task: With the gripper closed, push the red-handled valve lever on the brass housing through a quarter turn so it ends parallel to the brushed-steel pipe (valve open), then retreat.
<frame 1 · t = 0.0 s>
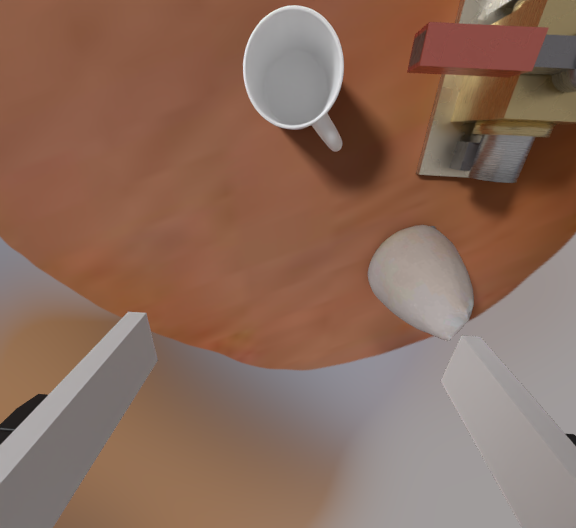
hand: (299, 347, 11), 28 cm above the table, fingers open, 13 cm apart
valve body: (493, 83, 29), on the table
mug: (305, 104, 31), on the table
lever: (520, 54, 19), point 12 cm above the table, hinge at 0.0°
sculpture: (405, 262, 40), on the table
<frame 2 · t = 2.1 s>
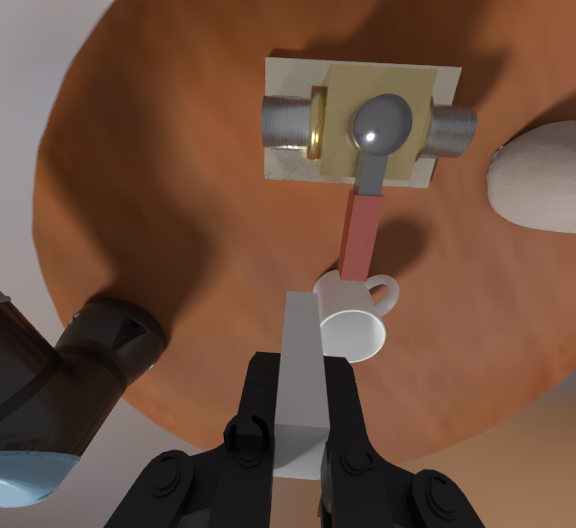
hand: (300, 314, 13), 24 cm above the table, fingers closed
valve body: (352, 128, 30), on the table
mug: (349, 284, 40), on the table
lever: (365, 198, 22), point 12 cm above the table, hinge at 0.0°
sculpture: (534, 175, 32), on the table
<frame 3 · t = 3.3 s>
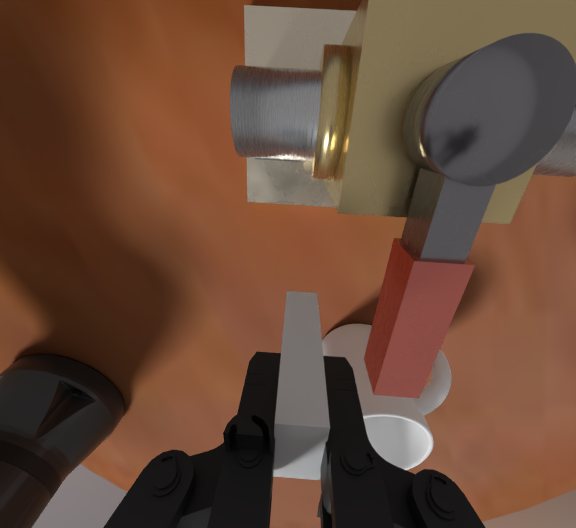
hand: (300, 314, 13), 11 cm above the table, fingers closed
valve body: (382, 126, 19), on the table
mug: (368, 340, 29), on the table
lever: (428, 261, 12), point 12 cm above the table, hinge at 0.0°
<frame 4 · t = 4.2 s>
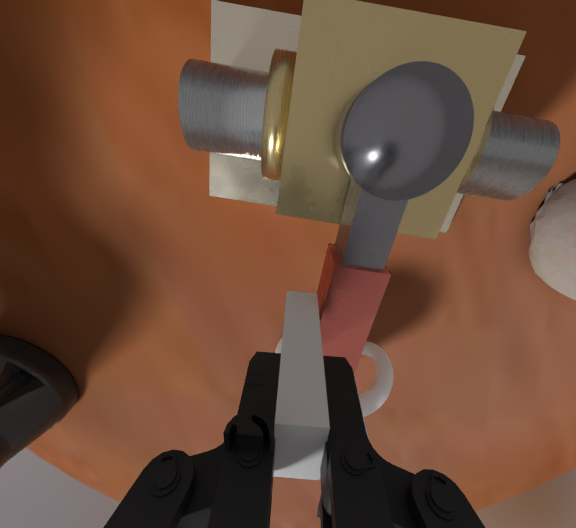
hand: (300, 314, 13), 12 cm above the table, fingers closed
valve body: (345, 134, 20), on the table
mug: (325, 342, 30), on the table
lever: (354, 268, 12), point 12 cm above the table, hinge at 0.0°, touching gripper
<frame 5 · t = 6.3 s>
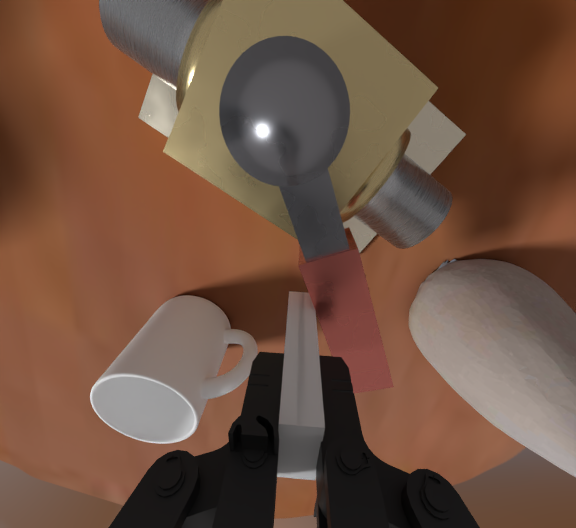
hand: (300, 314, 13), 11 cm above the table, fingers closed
valve body: (298, 126, 19), on the table
mug: (212, 321, 29), on the table
lever: (329, 255, 11), point 12 cm above the table, hinge at 53.2°, touching gripper
sculpture: (466, 308, 26), on the table
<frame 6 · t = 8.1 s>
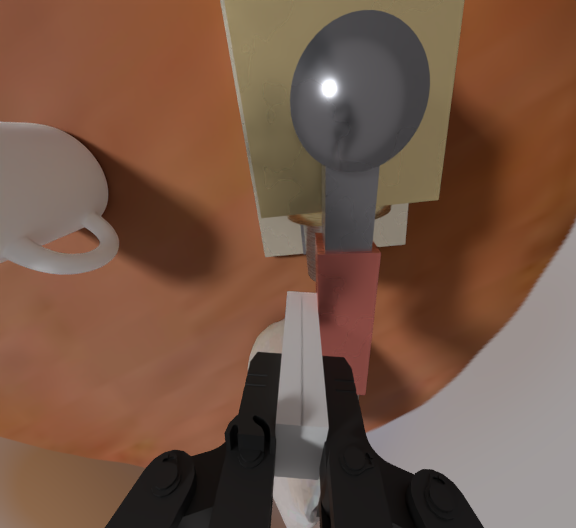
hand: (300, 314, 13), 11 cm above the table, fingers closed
valve body: (325, 120, 19), on the table
mug: (86, 193, 23), on the table
lever: (344, 253, 11), point 12 cm above the table, hinge at 86.2°, touching gripper
sculpture: (302, 353, 30), on the table
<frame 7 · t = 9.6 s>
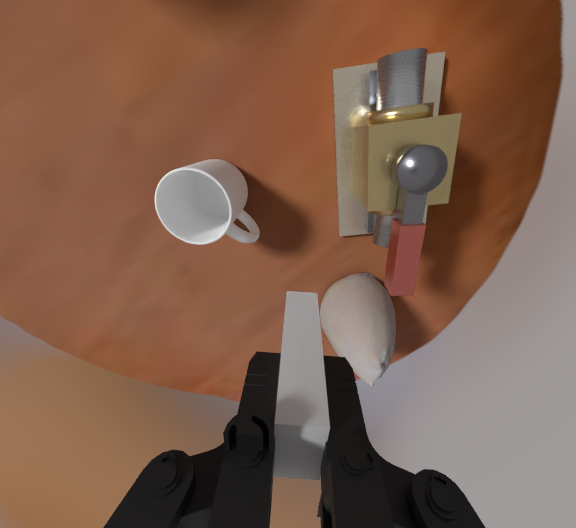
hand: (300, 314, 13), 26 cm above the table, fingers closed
valve body: (382, 157, 34), on the table
mug: (231, 198, 38), on the table
lever: (408, 226, 26), point 12 cm above the table, hinge at 86.3°
sculpture: (352, 303, 45), on the table
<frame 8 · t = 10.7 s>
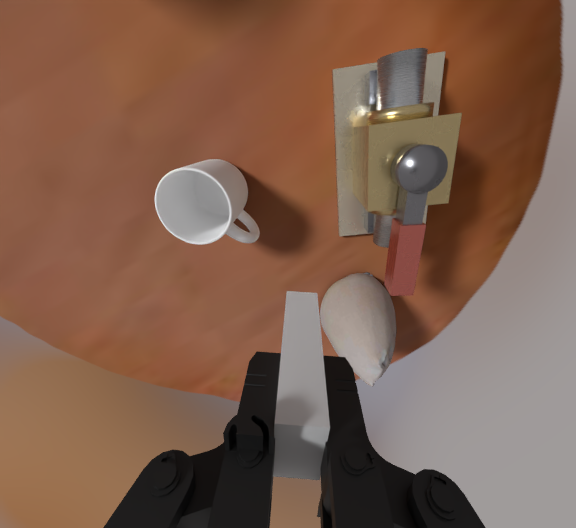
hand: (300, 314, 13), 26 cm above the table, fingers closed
valve body: (382, 157, 34), on the table
mug: (231, 198, 38), on the table
lever: (408, 226, 26), point 12 cm above the table, hinge at 86.3°
sculpture: (353, 303, 45), on the table
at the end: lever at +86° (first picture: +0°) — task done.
